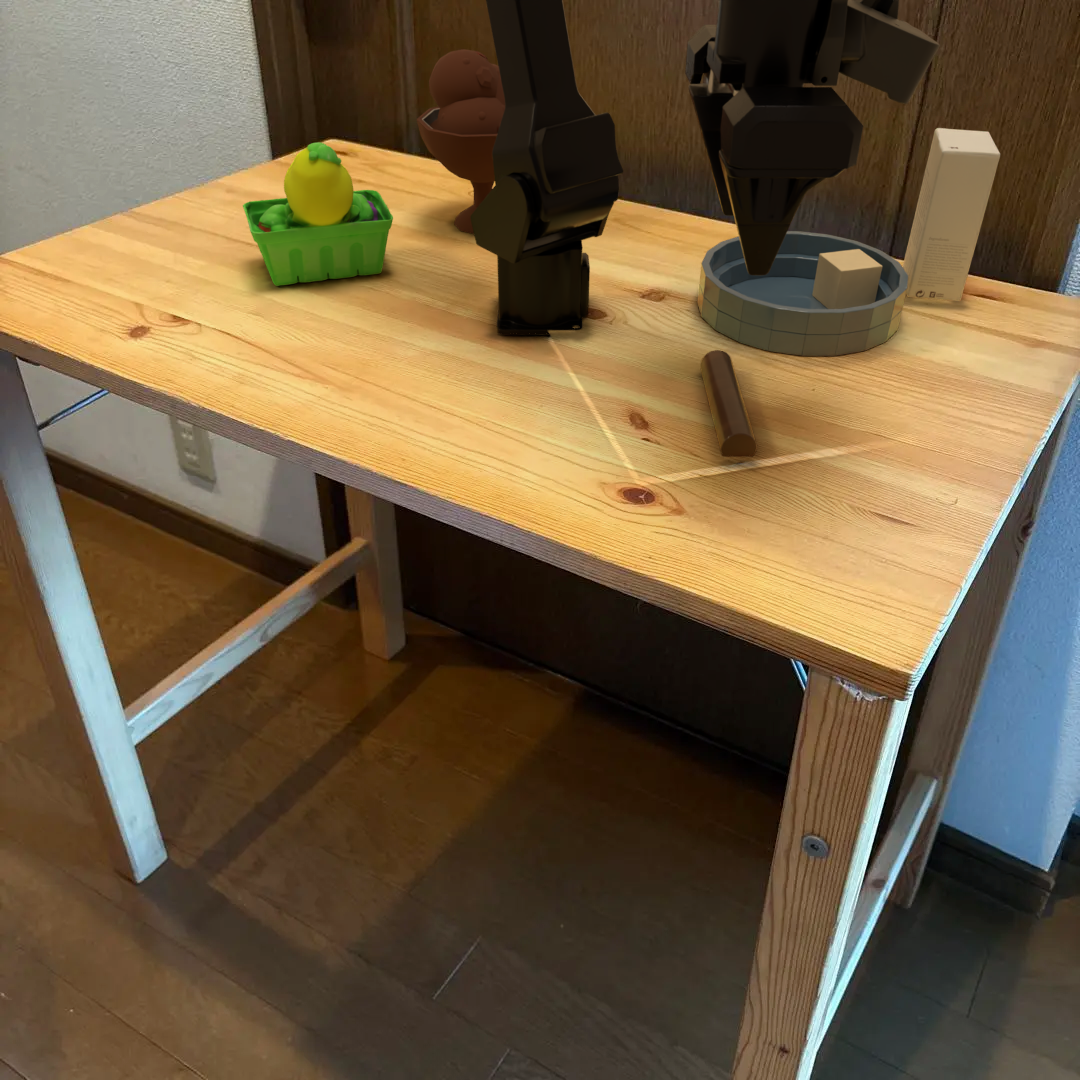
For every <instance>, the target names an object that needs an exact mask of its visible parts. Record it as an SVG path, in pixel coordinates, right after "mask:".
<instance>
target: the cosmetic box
mask: <svg viewBox="0 0 1080 1080" xmlns="http://www.w3.org/2000/svg"><path fill="white" fill-rule="evenodd" d="M1000 158H1001V153H1000V151H999V149H998V147H997V145H996V144H995V141H994V139H993V138H992V136H991V134H990V132H989V131H984V130H969V129H956V128H955V129H953V128H945V127H943V128H942V127H936V129H934V132H933V136H932V141H931V144H930V150H929V153H928V158H927V162H926V166H925V170H924V173H923V178H922V183H921V186H920V191H919V195H918V199H917V204H916V209H915V214H914V217H913V221H912V226H911V230H910V234H909V239H908V243H907V247H906V251H905V254H904V259H903V263H902V267H903V269H904V270H905V271H906V273H907V274H908V286H907V292H906V297H908V298H916V299H925V300H926V299H927V300H936V301H937V300H938V301H952V302H961V301H962V297H963V294H964V291H965V286H966V282H967V279H968V275H969V271H970V268H971V264H972V260H973V257H974V254H975V249H976V246H977V242H978V239H979V234H980V232H981V228H982V224H983V220H984V216H985V213H986V210H987V206H988V202H989V198H990V194H991V191H992V187H993V185H994V180H995V177H996V172H997V170H998V165H999V161H1000Z"/></svg>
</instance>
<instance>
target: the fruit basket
mask: <svg viewBox="0 0 1080 1080" xmlns="http://www.w3.org/2000/svg"><path fill="white" fill-rule="evenodd" d="M283 191H284V194H285V197H281V198H272V199H260V200H252V201H251V200H250V201H247V202H245V203H243V205H242V208H243V211H244V214H245V217H246V220H247V225H248V228H249V233H250V234H251V237H252V239H253V241H254V242H255V243H256V244H257V247H258V250H259V252H260V253H261V256H262V259H263V261H264V264H265V266H266V269H267V271H268V274H269V276H270V278H271V281H272V283H273V285H274V286H276V287H279V286H288V285H294V284H298V283H311V282H322V281H325V280H329V279H330V280H337V279H346V278H347V279H348V278H353V277H357V276H372V275H379V274H381V273H382V272H383V267H384V261H385V256H386V255H385V254H386V250H387V243H388V237H389V234H390V233H389V232H390V230H391V228H392V225H393V220H394V216H393V214H392V213H391V211H390V209H389V207H388V206H387V204H386V202H385V200H384V199H383V196H382V194H380V192H379V191H378V190H373V189H361V190H359V189H358V190H354V185H353V180H352V176H351V175H350V172H349V170H348V169H347V168H346V167H345V165H343V164H342V159H341V158H340V157H338V155H337V152H336V151H335V150H334V149H333V148H332V147H331V146H330V145H327V144H325V143H323V142H312V143H310V144H308V145H307V146H306V147H305V148H304V149H302V150H300V151H299V152H298V153H297V154H296V156H295V157H294V159H293V161H292V162H291V164H290V165H289V167H288V168H287V171H286V173H285V175H284V179H283Z"/></svg>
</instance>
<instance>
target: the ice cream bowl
mask: <svg viewBox="0 0 1080 1080" xmlns="http://www.w3.org/2000/svg"><path fill="white" fill-rule="evenodd" d="M428 87H429V95H430V96H431V98H432V100H434V102H435V104H436V105H437V106H433V107H430V108H428V109H427V110H426V111H424V112H423V113H422V114H421V115H419V116H418V118H416V123H417V127H418V131H419V136H420V137H421V140H422V141H423V143H424V145H425V147H426V149H427V151H428V152H429V153H430V154H431V155H432V156H433V157H434V158H435V159H436V160H437V161H438V162H439V164H441V165H442V166H443V167H444V168H445V169H446V170H447V171H448V172H450V173H451V174H453V175H455V176H456V177H458V179H459V178H460V179H463V180H466V181H470V184H471V186H472V188H473V204H471V205H470V206H468V207H467V208H465V209H463V210H462V211H460V212H459V213H458V214H457V216H455V219H454V222H453V225H454V226H455V227H456V228H457V229H458V230H459V231H461V232H465V233H467V234H472V235H474V232H473V227H472V223H471V215H472V213H473V212H474V211H475V210H476V208H477V207H478V206H479V205H480V204H481V202H482V201H483V200H484V199H485V197H486V196H487V195H488V194H489V192H490V191H491V190H492V189H493V188H494V185H495V176H494V167H493V157H492V151H493V147H494V144H495V140H496V137H497V134H498V130H499V127H500V124H501V120H502V117H503V114H504V110H505V98H504V93H503V87H502V82H501V77H500V72H499V66H498V64H495V63H491V62H490V61H489V60H488V57H487V55H485V54H484V53H482V52H480V51H478V50H472V49H471V50H470V49H464V48H463V49H458V50H451V51H449V52H448V53H445V54H444V55H442V56H441V57H440V58H439V59H438V60H437V61H436V62H435V65H434V67H433V69H432V72H431V73H430V76H429V81H428Z"/></svg>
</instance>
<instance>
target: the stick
mask: <svg viewBox="0 0 1080 1080" xmlns="http://www.w3.org/2000/svg"><path fill="white" fill-rule="evenodd" d="M699 367H700V372H701V376H702V380H703V384H704V389H705V392H706V393H705V394H706V396H707V401H708V404H709V409H710V413H711V417H712V421H713V425H714V429H715V434H716V437H717V443H718V445H719V451H720V453H721V456H722V457H751V458H752V457H753V456H755V454H756V452H757V448H758V445H757V441H756V438H755V434H754V431H753V428H752V424H751V420H750V417H749V413H748V411H747V407H746V403H745V400H744V398H743V394H742V390H741V386H740V383H739V381H738V377H737V374H736V370H735V367H734V364H733V360H732V357H731V355H730V354H729V353H727V352H726V351H724V350H720V349H715V350H711V351H709V352H707V353H706V354H704V355H703V357H702V358H701V360H700V363H699ZM743 463H744V461H740V462H738V464H743Z"/></svg>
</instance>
